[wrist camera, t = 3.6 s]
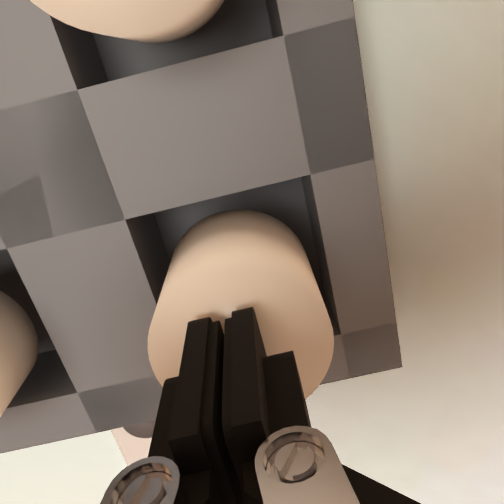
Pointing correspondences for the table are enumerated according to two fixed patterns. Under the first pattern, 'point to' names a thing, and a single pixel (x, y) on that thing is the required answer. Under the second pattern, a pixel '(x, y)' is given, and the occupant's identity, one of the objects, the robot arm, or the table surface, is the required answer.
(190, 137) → the button board
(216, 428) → the robot arm
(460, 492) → the table surface
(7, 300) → the button
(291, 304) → the button
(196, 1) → the button
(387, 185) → the table surface
